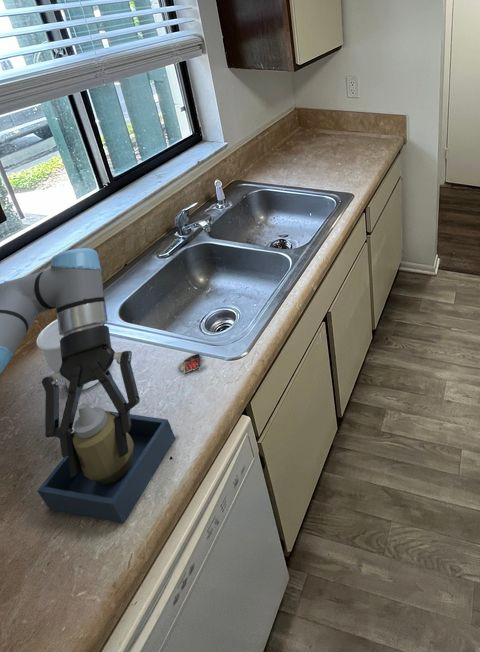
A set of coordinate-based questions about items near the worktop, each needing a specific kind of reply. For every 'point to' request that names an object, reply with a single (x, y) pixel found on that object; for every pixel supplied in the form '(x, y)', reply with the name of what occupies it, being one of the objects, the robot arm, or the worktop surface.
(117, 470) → the squeeze bottle
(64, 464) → the bin
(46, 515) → the worktop surface
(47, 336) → the jar
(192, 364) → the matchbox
